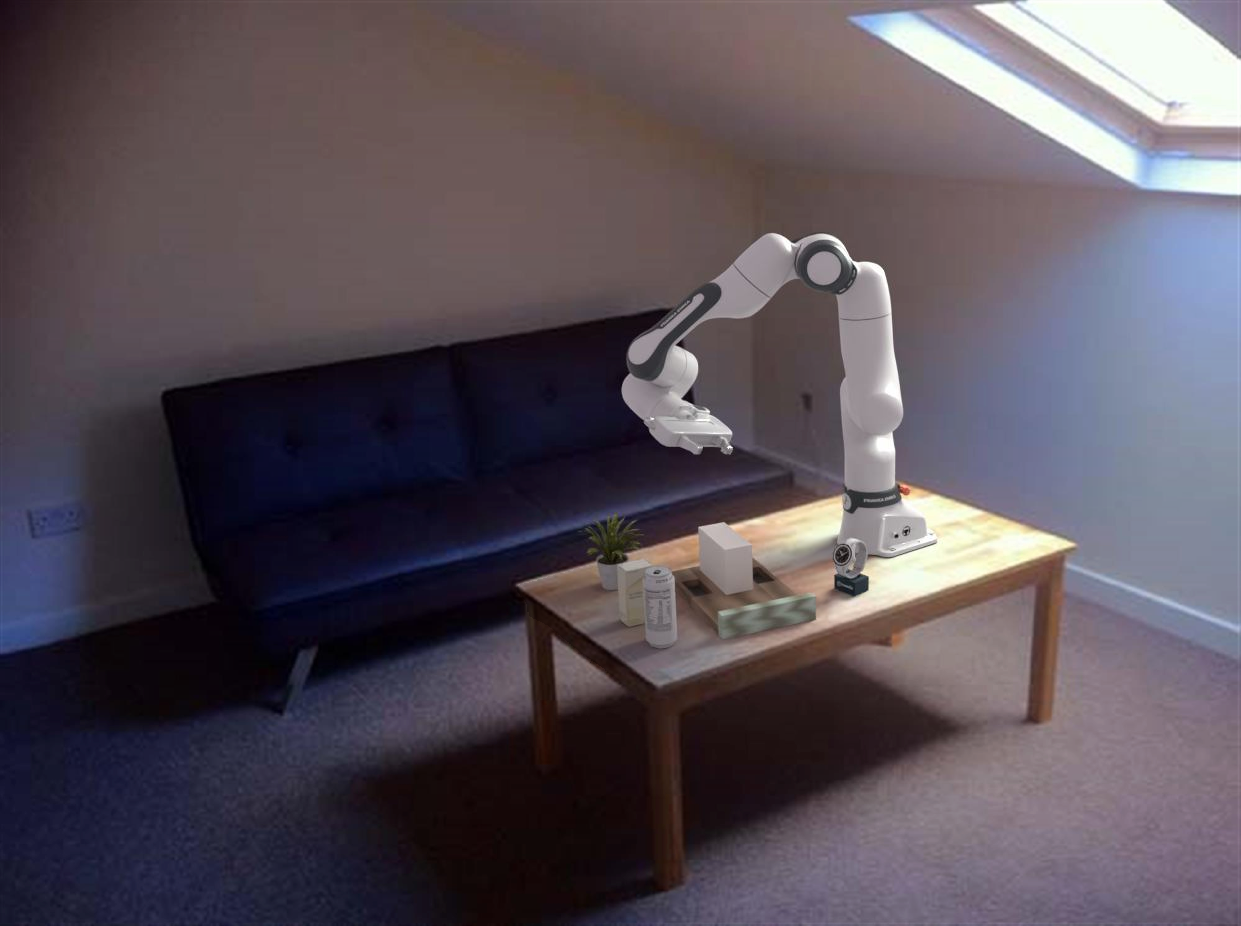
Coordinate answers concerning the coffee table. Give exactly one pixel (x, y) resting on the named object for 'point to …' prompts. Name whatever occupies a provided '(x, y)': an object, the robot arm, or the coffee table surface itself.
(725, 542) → the block
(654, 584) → the energy drink can
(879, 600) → the coffee table surface
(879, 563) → the coffee table surface
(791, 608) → the wooden tray
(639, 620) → the skincare box
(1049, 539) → the coffee table surface
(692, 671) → the coffee table surface
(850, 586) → the watch
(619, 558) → the house plant
